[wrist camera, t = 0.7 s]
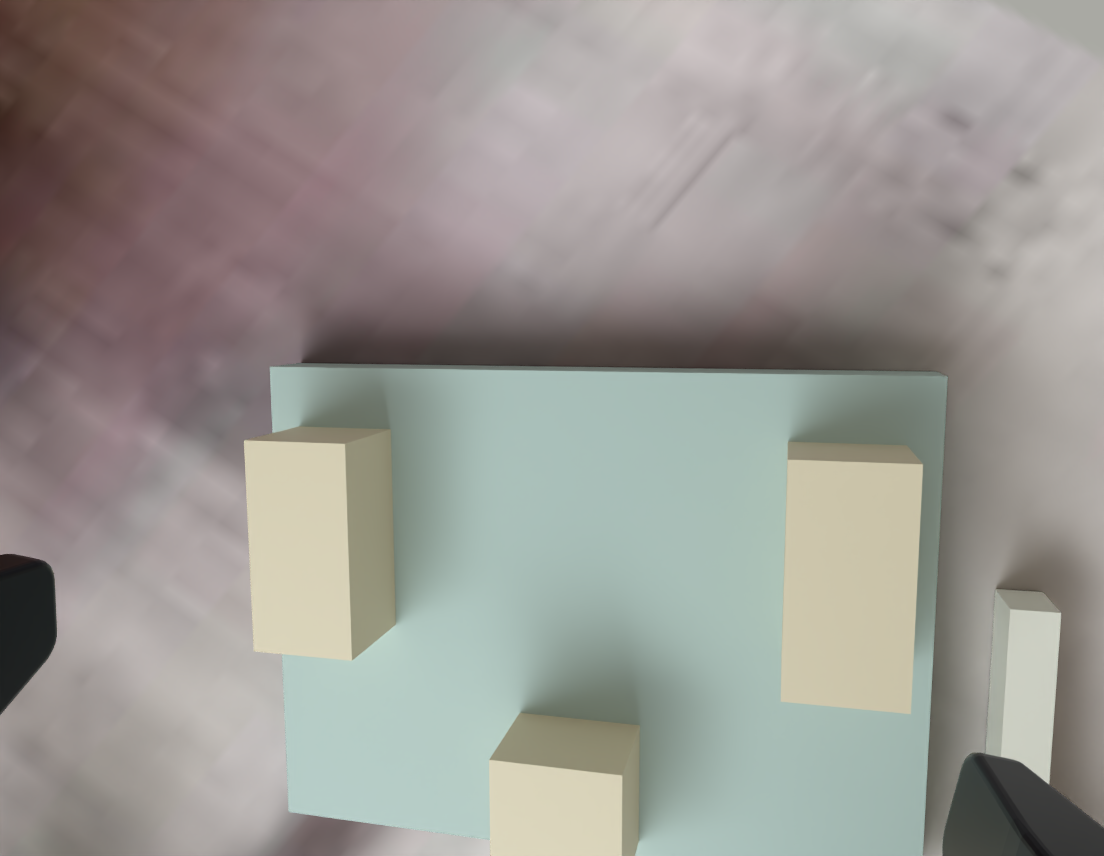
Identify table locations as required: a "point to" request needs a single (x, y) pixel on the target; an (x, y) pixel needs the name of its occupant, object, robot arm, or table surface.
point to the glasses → (1023, 679)
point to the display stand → (604, 603)
